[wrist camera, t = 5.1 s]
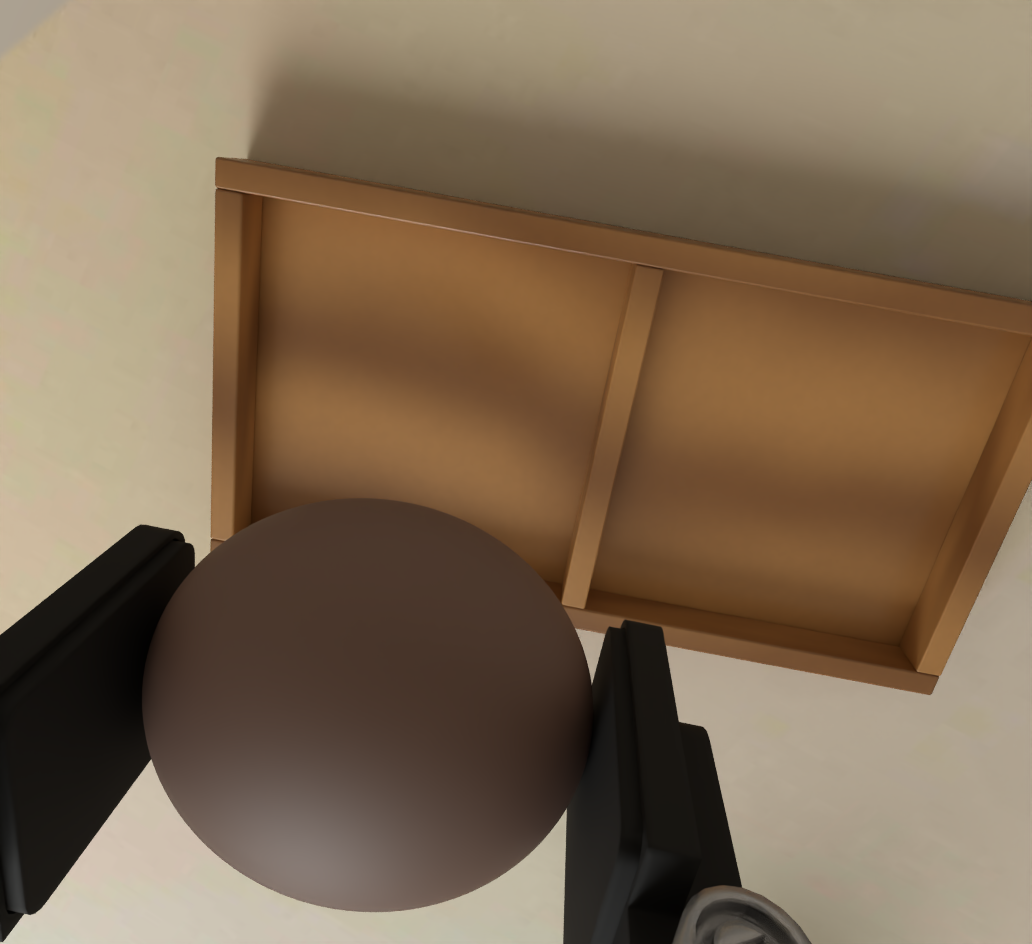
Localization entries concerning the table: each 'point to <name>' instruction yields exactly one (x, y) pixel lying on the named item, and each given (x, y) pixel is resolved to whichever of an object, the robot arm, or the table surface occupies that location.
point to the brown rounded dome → (367, 705)
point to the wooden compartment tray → (627, 414)
